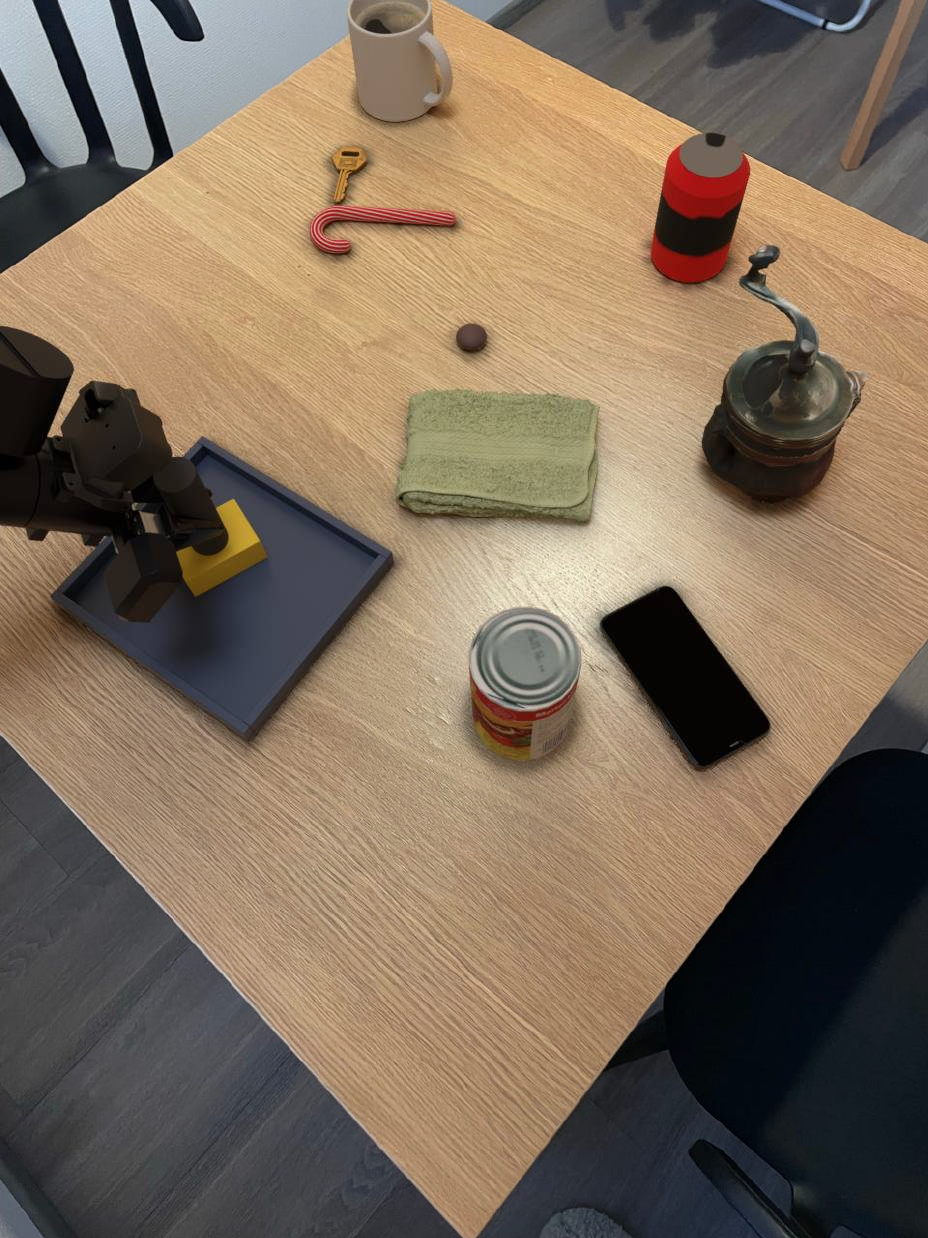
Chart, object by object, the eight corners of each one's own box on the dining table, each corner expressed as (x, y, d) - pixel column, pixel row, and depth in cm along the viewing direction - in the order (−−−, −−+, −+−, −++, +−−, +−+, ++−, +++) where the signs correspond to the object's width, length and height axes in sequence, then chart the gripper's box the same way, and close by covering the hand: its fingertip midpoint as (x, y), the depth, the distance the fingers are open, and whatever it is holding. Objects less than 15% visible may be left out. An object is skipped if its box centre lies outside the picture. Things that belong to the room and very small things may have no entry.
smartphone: (594, 623, 81) (696, 776, 76) (595, 619, 81) (698, 773, 75) (668, 584, 83) (774, 731, 77) (670, 580, 82) (777, 728, 76)
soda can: (730, 234, 99) (759, 131, 88) (720, 290, 96) (748, 190, 85) (656, 222, 100) (675, 119, 89) (644, 277, 97) (662, 177, 86)
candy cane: (450, 262, 99) (450, 251, 98) (306, 254, 100) (303, 243, 99) (457, 219, 101) (456, 207, 100) (315, 211, 102) (313, 200, 101)
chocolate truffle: (489, 351, 94) (489, 340, 92) (458, 356, 94) (458, 345, 92) (484, 328, 95) (484, 316, 94) (454, 332, 95) (453, 321, 94)
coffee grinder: (758, 369, 92) (813, 219, 76) (852, 487, 86) (934, 352, 70) (641, 421, 90) (672, 278, 74) (730, 546, 84) (785, 421, 68)
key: (321, 202, 103) (321, 199, 102) (335, 148, 106) (335, 145, 106) (356, 204, 102) (356, 201, 102) (369, 150, 106) (369, 147, 105)
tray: (249, 742, 78) (243, 734, 76) (59, 606, 84) (48, 596, 82) (394, 563, 85) (392, 551, 83) (208, 448, 90) (202, 435, 88)
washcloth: (593, 529, 85) (597, 510, 82) (394, 517, 86) (390, 498, 84) (598, 407, 91) (602, 386, 88) (411, 397, 92) (408, 375, 89)
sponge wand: (195, 597, 83) (145, 520, 71) (170, 554, 85) (118, 472, 73) (267, 557, 85) (230, 475, 73) (241, 515, 86) (201, 429, 74)
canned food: (508, 651, 81) (509, 586, 70) (589, 701, 79) (603, 643, 68) (453, 726, 78) (446, 670, 67) (535, 780, 76) (541, 732, 65)
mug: (351, 77, 111) (338, -11, 102) (431, 60, 112) (426, -29, 103) (372, 141, 106) (361, 55, 97) (456, 123, 107) (452, 36, 98)
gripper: (104, 522, 60) (306, 546, 71) (39, 307, 67) (232, 360, 78) (33, 622, 66) (230, 630, 77) (-19, 415, 73) (168, 450, 85)
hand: (215, 513), depth 79 cm, fingers closed on sponge wand, 3 cm apart
